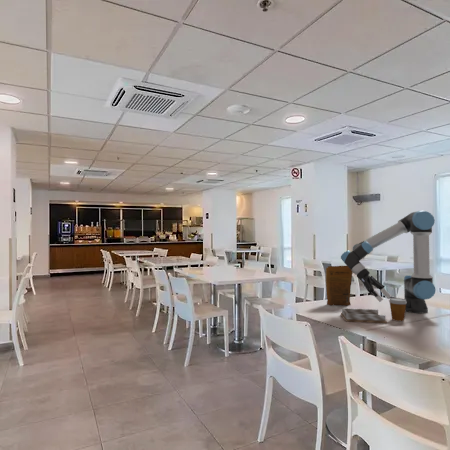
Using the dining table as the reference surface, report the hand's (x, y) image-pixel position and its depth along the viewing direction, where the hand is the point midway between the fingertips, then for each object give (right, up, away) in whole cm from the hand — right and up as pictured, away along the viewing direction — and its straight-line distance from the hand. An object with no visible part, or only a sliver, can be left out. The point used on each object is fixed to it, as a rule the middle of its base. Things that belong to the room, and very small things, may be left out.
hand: (385, 299), depth 206 cm
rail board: (-15, -11, -2) cm, 19 cm away
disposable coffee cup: (+5, -11, -4) cm, 13 cm away
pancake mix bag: (-16, -12, +36) cm, 42 cm away
